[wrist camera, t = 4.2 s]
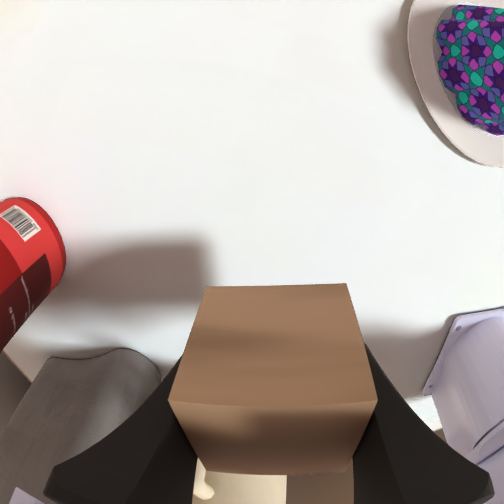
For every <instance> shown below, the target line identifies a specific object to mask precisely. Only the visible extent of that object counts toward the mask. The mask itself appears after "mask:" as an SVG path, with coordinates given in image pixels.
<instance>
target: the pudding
mask: <svg viewBox="0 0 504 504" xmlns="http://www.w3.org/2000/svg"><path fill="white" fill-rule="evenodd" d="M465 2H468V3H474V4H478V5H480V6H471V5H458V6H457V7H455V8H454V9H453V13H452V19H450V20H442V21H441V22H440V24H439V26H438V27H437V36H436V39H437V41H438V43H439V45H440V48H441V50H442V54H441V56H440V58H439V60H438V68H439V75H440V77H441V79H442V81H443V83H444V85H445V87H446V88H448V89H449V90H450V91H452V92H453V93H454V94H455V95H456V100H457V107H458V110H459V111H460V113H461V114H462V115H463V117H464V118H465V119H466V120H467V121H469V122H470V123H472V124H481V123H483V124H484V126H485V127H486V129H487V130H488V132H489V133H491V134H494V135H504V0H414V1H413V4H412V6H411V8H410V13H409V18H408V23H407V43H408V51H409V59H410V63H411V67H412V70H413V74H414V78H415V81H416V84H417V86H418V89H419V91H420V94H421V97H422V99H423V101H424V103H425V105H426V107H427V109H428V111H429V112H430V114H431V116H432V118H433V119H434V121H435V122H436V124H437V125H438V127H439V128H440V130H441V131H442V133H443V134H444V135H445V136H446V137H447V138H448V139H449V140H450V142H451V143H452V144H453V145H454V146H455V147H456V148H458V149H459V150H460V151H461V152H462V153H464V154H465V155H466V156H468V157H469V158H471V159H473V160H475V161H476V162H478V163H481V164H484V165H487V166H490V167H501V168H502V167H504V136H499V137H496V136H489V135H487V134H484V133H481V132H480V131H478V130H476V129H475V128H473V127H472V126H471V125H470V124H468V123H467V122H466V121H465V120H464V119H463V118H462V117H461V116H460V114H459V113H458V112H457V111H456V109H455V108H454V106H453V105H452V103H451V102H450V100H449V99H448V97H447V95H446V93H445V91H444V89H443V87H442V84H441V81H440V79H439V76H438V73H437V69H436V65H435V60H434V52H433V36H434V31H435V26H436V24H437V21H438V19H439V17H440V16H441V14H442V13H443V12H444V11H445V10H446V9H447V8H449V7H450V6H452V5H454V4H457V3H465Z"/></svg>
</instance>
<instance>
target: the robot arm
mask: <svg viewBox="0 0 504 504" xmlns="http://www.w3.org/2000/svg"><path fill="white" fill-rule="evenodd" d="M364 346H365V350H366V354H367V358H368V361H369V365H370V369H371V373H372V377H373V381H374V386H375V390H376V394H377V399H378V401H377V403H376V406H375V408H374V410H373V413H372V415H371V418H370V420H369V422H368V424H367V427H366V429H365V431H364V433H363V435H362V437H361V440H360V442H359V444H358V446H357V448H356V450H355V452H354V454H353V456H352V458H353V471H354V472H353V473H354V504H504V308H502V309H496V310H491V311H485V312H478V313H472V314H465V315H460V316H457V317H456V318H455V319H454V321H453V324H452V326H451V329H450V331H449V334H448V336H447V339H446V341H445V344H444V346H443V348H442V351H441V353H440V355H439V357H438V359H437V362H436V364H435V366H434V368H433V370H432V372H431V374H430V376H429V378H428V380H427V382H426V384H425V386H424V388H423V390H422V394H423V395H424V396H426V395H432V398H433V400H434V403H435V406H436V409H437V412H438V415H439V418H440V421H441V424H442V428H443V431H444V434H445V437H446V441H447V443H448V444H447V443H445V441H443V440H442V439H441V438H440V437H439V436H437V435H436V434H435V433H434V432H433V431H432V430H431V429H430V428H429V427H428V426H427V425H426V424H425V423H424V422H423V421H422V420H421V419H420V418H419V417H418V416H417V414H416V413H415V412H414V411H413V410H412V409H411V408H410V406H409V405H408V404H407V403H406V401H405V400H404V399H403V398H402V397H401V395H400V394H399V393H398V391H397V390H396V389H395V387H394V386H393V384H392V383H391V382H390V380H389V379H388V378H387V376H386V375H385V373H384V372H383V370H382V369H381V367H380V366H379V364H378V363H377V361H376V360H375V358H374V357H373V355H372V353H371V352H370V350H369V348H368V347H367V345H366V344H365V343H364ZM182 356H183V354H182ZM182 356H181V357H180V359H179V360H178V361H177V363H176V364H175V365H174V367H173V368H172V369H171V371H170V372H169V373H168V375H167V376H166V377H165V378H164V379H163V381H162V382H161V383H160V384H159V386H158V387H157V388H156V389H155V390H154V392H153V393H152V394H151V395H150V396H149V397H148V398H147V399H146V400H145V401H144V403H143V404H142V405H141V406H140V407H139V408H138V409H137V410H136V411H135V412H134V413H133V414H132V415H131V416H130V417H128V418H127V419H126V420H125V421H124V422H123V423H122V424H121V425H119V426H118V427H117V428H116V429H115V430H113V431H112V432H111V433H110V434H108V435H107V436H106V437H104V438H103V439H101V440H100V441H99V442H97V443H95V444H94V445H92V446H91V447H89V448H88V449H86V450H85V451H83V452H81V453H80V454H78V455H76V456H74V457H72V458H70V459H68V460H66V461H64V462H62V463H60V464H58V465H56V466H54V467H53V469H52V471H51V473H50V476H49V478H48V481H47V483H46V486H45V488H44V491H43V494H44V496H45V497H47V498H48V499H50V500H52V501H53V502H55V503H57V504H192V499H193V490H194V481H195V473H196V466H197V460H198V456H197V454H196V452H195V451H194V449H193V447H192V445H191V444H190V442H189V440H188V438H187V436H186V435H185V433H184V431H183V429H182V427H181V425H180V423H179V421H178V419H177V417H176V416H175V414H174V412H173V410H172V408H171V406H170V404H169V401H168V398H169V395H170V392H171V389H172V386H173V383H174V380H175V377H176V374H177V371H178V368H179V365H180V362H181V359H182ZM9 504H44V503H43V502H41V501H39V500H37V499H36V498H34V497H32V496H31V495H29V494H27V493H26V492H24V491H23V490H21V489H19V488H18V487H16V488H15V490H14V493H13V495H12V498H11V500H10V503H9Z"/></svg>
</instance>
